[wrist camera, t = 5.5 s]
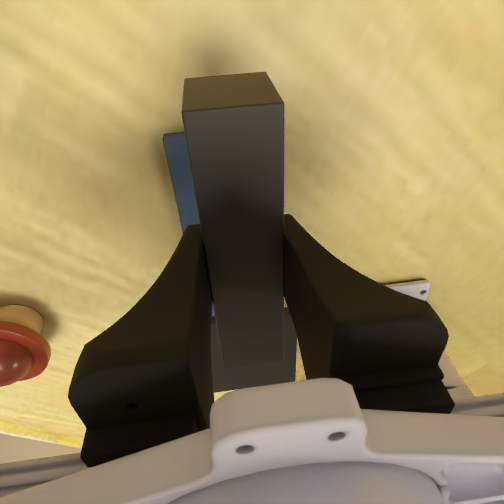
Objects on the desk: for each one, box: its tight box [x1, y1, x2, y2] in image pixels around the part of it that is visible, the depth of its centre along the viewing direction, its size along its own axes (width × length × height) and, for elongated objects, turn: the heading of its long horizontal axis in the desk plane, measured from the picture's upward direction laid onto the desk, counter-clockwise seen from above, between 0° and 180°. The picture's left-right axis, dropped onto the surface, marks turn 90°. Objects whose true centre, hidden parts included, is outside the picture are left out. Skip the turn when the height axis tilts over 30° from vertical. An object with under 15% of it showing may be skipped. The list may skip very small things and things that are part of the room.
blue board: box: [163, 132, 215, 316], centre depth 26 cm, size 18×5×1 cm, turn 4°
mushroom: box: [0, 305, 51, 387], centre depth 26 cm, size 6×6×5 cm
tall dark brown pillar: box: [182, 72, 297, 393], centre depth 16 cm, size 17×5×3 cm, turn 3°
